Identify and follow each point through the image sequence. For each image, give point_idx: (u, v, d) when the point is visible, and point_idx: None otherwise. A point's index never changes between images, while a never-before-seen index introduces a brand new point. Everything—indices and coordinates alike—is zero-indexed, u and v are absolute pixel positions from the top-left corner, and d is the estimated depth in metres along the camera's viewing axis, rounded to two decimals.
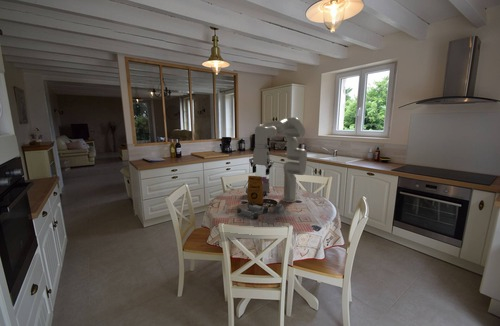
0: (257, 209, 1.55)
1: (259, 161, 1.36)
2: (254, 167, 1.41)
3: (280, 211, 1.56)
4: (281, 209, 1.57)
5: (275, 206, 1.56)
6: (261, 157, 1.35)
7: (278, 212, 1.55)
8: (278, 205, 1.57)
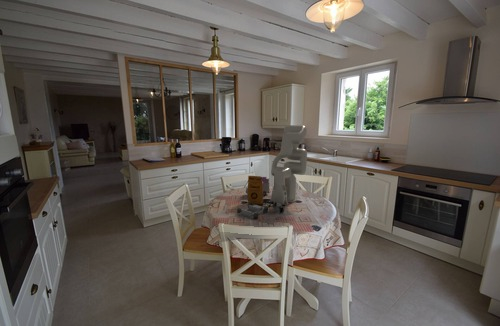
0: (257, 209, 1.55)
1: (277, 200, 1.54)
2: None
3: None
4: None
5: (275, 206, 1.56)
6: (279, 197, 1.53)
7: (278, 212, 1.54)
8: (278, 205, 1.57)
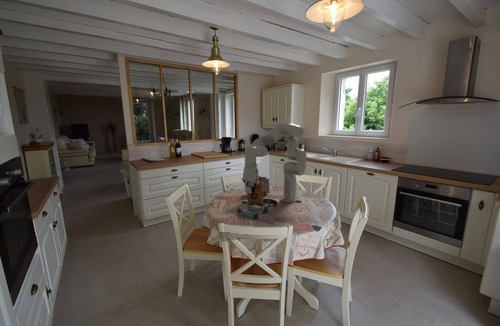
0: (257, 209, 1.55)
1: (248, 178, 1.47)
2: None
3: None
4: None
5: (246, 185, 1.48)
6: (250, 175, 1.45)
7: (250, 191, 1.47)
8: (250, 184, 1.50)
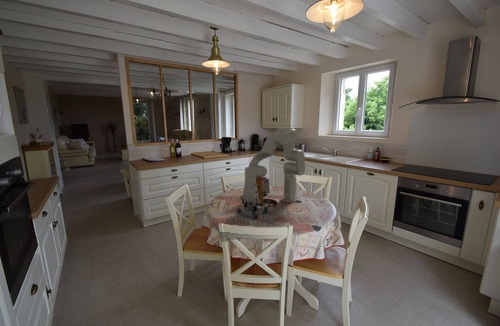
0: (257, 209, 1.55)
1: (248, 198, 1.50)
2: (245, 204, 1.54)
3: (252, 212, 1.51)
4: None
5: (246, 207, 1.52)
6: (250, 195, 1.48)
7: None
8: (250, 205, 1.53)
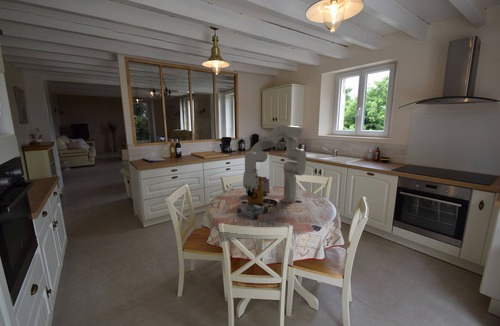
0: (257, 209, 1.55)
1: (248, 183, 1.48)
2: (249, 191, 1.50)
3: (252, 212, 1.51)
4: (253, 210, 1.52)
5: (246, 207, 1.52)
6: (250, 180, 1.46)
7: None
8: (250, 205, 1.53)
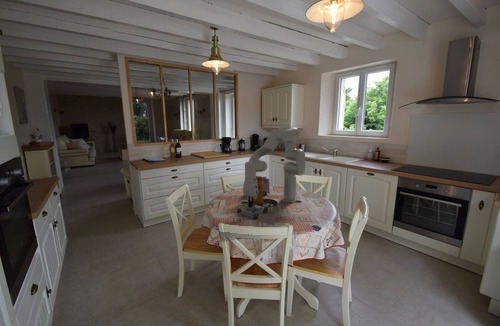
0: (257, 209, 1.55)
1: (248, 193, 1.49)
2: None
3: (252, 212, 1.51)
4: (253, 210, 1.52)
5: (246, 207, 1.52)
6: (250, 190, 1.47)
7: None
8: None
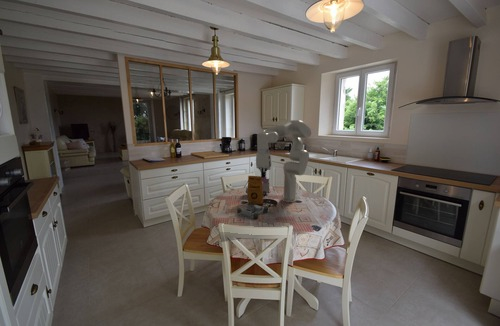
0: (257, 209, 1.55)
1: (261, 164, 1.50)
2: None
3: (252, 212, 1.51)
4: (253, 210, 1.52)
5: (246, 207, 1.52)
6: (263, 161, 1.48)
7: None
8: (250, 205, 1.53)
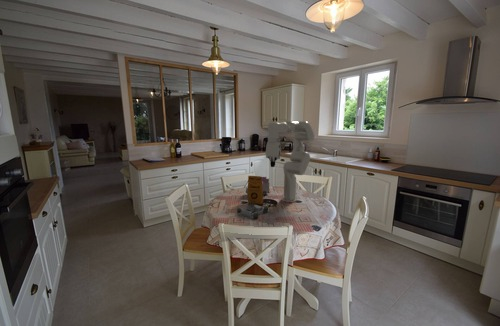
0: (257, 209, 1.55)
1: (271, 153, 1.52)
2: None
3: (252, 212, 1.51)
4: (253, 210, 1.52)
5: (246, 207, 1.52)
6: (273, 150, 1.51)
7: None
8: (250, 205, 1.53)
